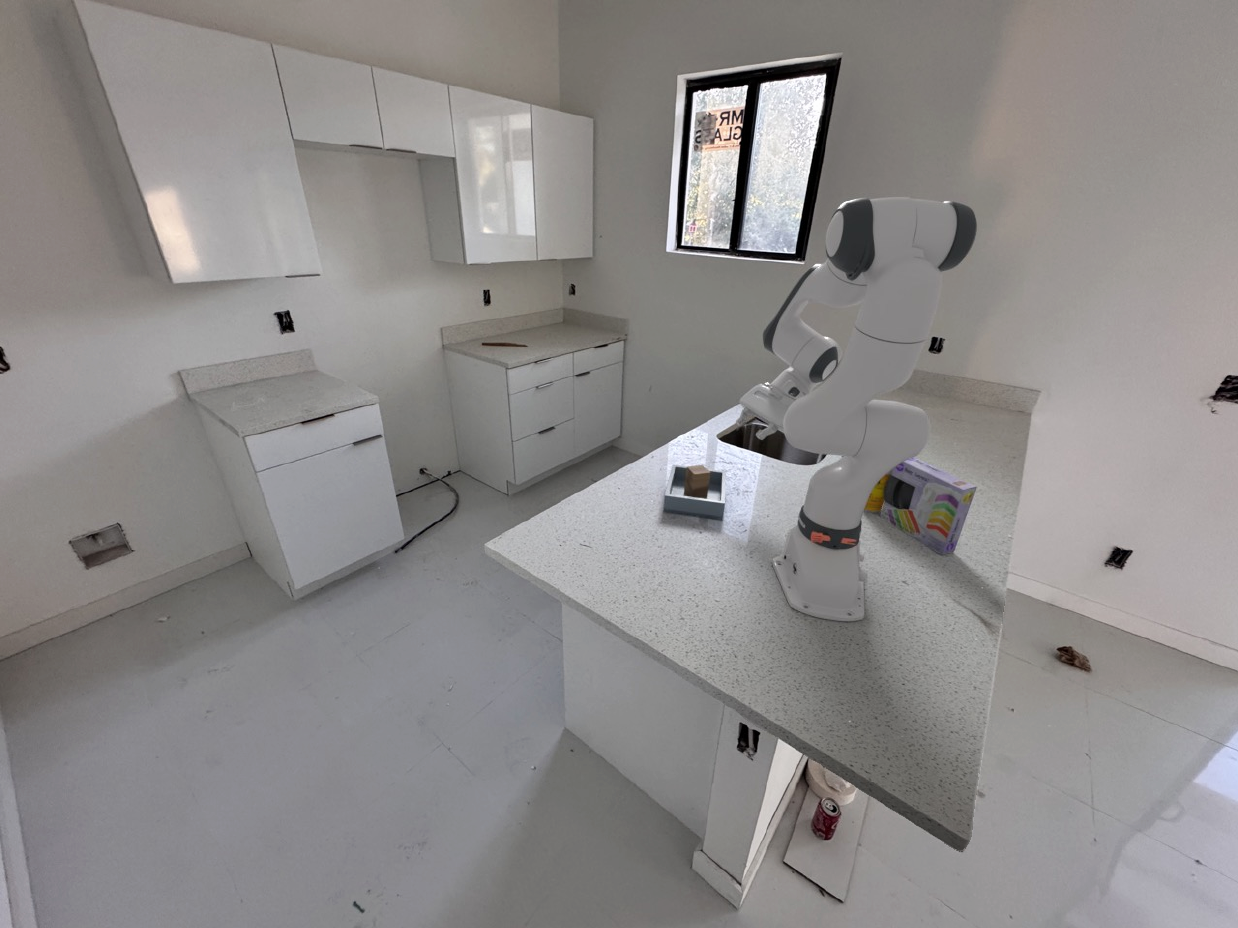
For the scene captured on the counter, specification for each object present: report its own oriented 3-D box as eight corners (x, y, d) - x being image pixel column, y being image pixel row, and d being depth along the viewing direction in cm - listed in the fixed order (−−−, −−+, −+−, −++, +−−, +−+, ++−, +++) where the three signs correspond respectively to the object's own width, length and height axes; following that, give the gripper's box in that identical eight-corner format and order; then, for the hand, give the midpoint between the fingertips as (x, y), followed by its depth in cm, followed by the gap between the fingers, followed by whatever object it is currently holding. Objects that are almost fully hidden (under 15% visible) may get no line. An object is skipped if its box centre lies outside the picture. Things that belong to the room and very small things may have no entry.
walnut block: (706, 498, 132) (710, 472, 129) (691, 501, 131) (694, 474, 127) (699, 490, 136) (702, 464, 132) (683, 492, 135) (686, 466, 131)
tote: (722, 520, 125) (725, 503, 122) (663, 512, 127) (664, 495, 125) (723, 487, 141) (726, 471, 138) (671, 480, 143) (672, 464, 141)
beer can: (855, 509, 132) (870, 459, 125) (857, 499, 137) (871, 450, 130) (880, 516, 130) (897, 464, 123) (881, 505, 134) (897, 456, 128)
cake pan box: (874, 514, 130) (893, 453, 122) (888, 511, 132) (908, 451, 124) (939, 557, 114) (966, 490, 106) (955, 553, 116) (982, 487, 108)
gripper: (757, 373, 134) (721, 410, 135) (806, 396, 117) (764, 438, 118) (769, 388, 137) (733, 424, 139) (818, 412, 120) (777, 453, 121)
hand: (748, 430), depth 128 cm, fingers open, 8 cm apart
